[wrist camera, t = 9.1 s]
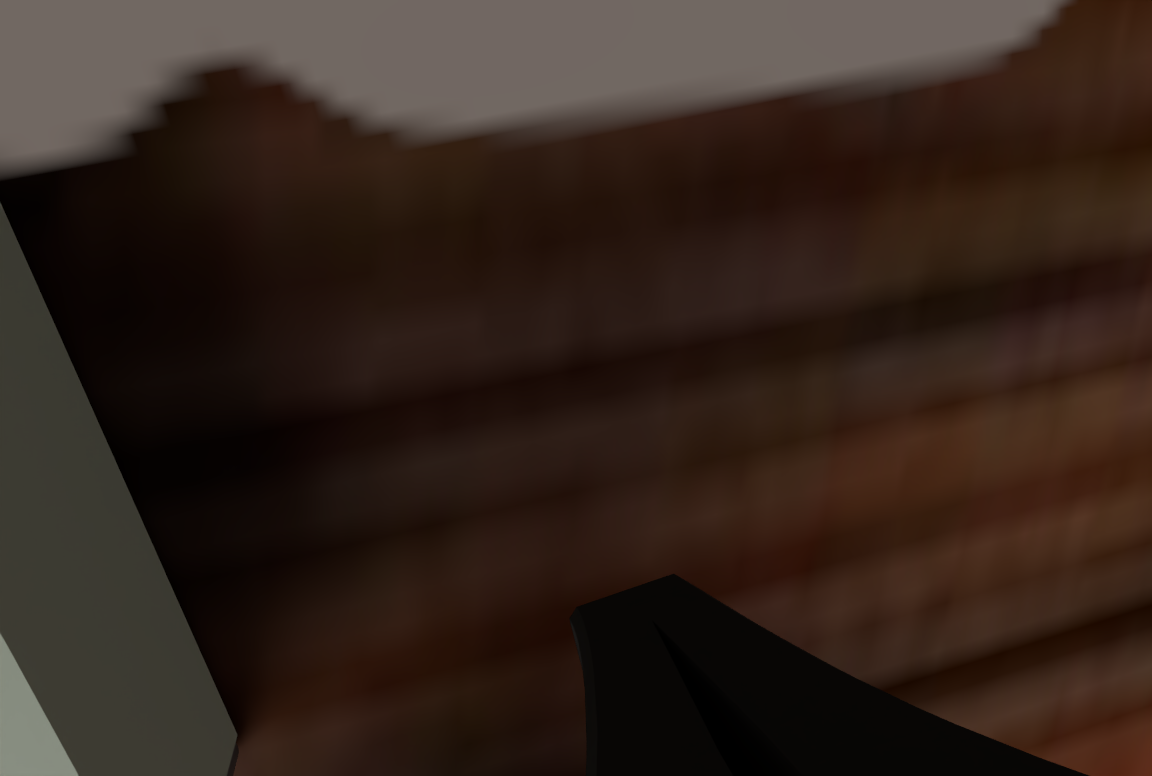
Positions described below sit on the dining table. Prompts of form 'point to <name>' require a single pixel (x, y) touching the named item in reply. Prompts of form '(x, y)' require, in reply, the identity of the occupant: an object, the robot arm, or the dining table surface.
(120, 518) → the door
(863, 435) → the dining table surface
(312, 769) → the dining table surface
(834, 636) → the dining table surface
